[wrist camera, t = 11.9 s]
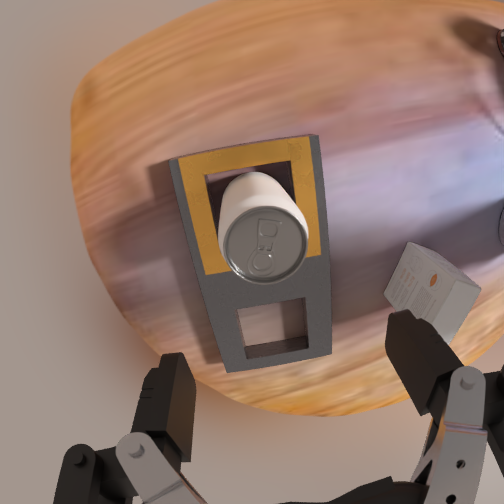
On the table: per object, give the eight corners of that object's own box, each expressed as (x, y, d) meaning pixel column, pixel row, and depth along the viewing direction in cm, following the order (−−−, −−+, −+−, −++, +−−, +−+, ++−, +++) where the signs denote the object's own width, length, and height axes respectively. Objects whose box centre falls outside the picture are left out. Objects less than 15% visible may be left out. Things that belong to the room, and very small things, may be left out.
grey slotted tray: (326, 342, 39) (332, 355, 36) (226, 360, 39) (226, 374, 37) (311, 134, 28) (319, 135, 25) (173, 157, 28) (167, 161, 25)
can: (218, 227, 31) (211, 285, 20) (226, 166, 29) (223, 192, 18) (278, 235, 32) (302, 294, 21) (290, 176, 30) (324, 207, 19)
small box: (410, 300, 37) (448, 346, 28) (381, 293, 36) (418, 344, 27) (436, 250, 34) (483, 289, 25) (407, 239, 33) (456, 279, 24)
